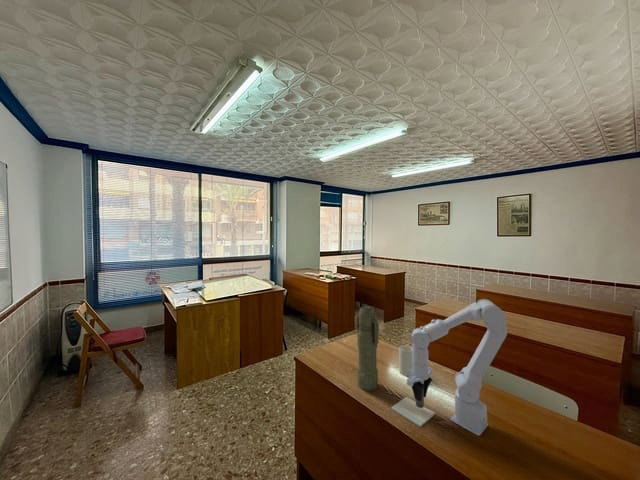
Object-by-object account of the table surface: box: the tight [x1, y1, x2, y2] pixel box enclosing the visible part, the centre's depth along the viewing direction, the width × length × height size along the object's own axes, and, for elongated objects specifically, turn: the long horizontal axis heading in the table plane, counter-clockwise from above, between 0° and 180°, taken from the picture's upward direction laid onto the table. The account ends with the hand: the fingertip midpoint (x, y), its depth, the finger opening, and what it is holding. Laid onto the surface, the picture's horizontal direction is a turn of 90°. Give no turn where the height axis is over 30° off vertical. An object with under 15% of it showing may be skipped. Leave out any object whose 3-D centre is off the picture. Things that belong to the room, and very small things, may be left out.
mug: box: [398, 345, 413, 377], centre depth 123 cm, size 10×7×12 cm, turn 128°
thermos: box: [356, 305, 380, 392], centre depth 112 cm, size 9×12×35 cm
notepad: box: [391, 396, 436, 428], centre depth 95 cm, size 12×10×1 cm
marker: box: [415, 380, 425, 408], centre depth 95 cm, size 3×3×10 cm
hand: (420, 397), depth 95 cm, fingers closed on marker, 3 cm apart
